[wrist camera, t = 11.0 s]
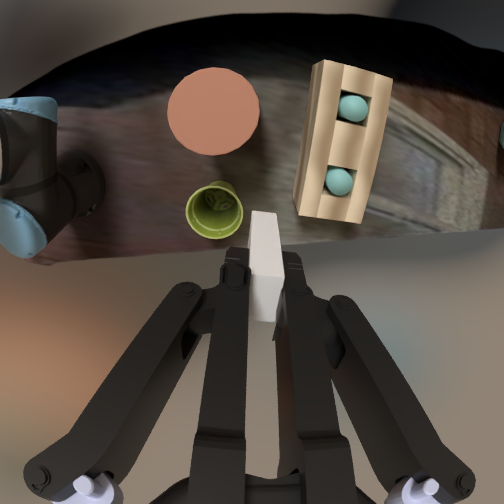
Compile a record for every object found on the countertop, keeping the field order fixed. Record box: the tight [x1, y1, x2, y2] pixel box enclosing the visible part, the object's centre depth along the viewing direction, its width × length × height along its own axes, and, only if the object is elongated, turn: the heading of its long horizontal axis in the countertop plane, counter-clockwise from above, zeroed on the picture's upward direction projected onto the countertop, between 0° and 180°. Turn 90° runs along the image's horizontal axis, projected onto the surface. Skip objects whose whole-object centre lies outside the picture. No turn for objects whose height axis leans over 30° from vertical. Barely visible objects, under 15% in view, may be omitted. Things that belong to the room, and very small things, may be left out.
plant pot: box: [186, 181, 243, 239], centre depth 49 cm, size 9×9×9 cm
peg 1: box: [337, 95, 368, 122], centre depth 38 cm, size 4×4×8 cm
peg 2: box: [324, 165, 353, 195], centre depth 45 cm, size 4×4×8 cm
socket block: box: [292, 60, 393, 224], centre depth 42 cm, size 11×25×9 cm, turn 174°
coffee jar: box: [167, 67, 260, 156], centre depth 36 cm, size 11×11×18 cm
